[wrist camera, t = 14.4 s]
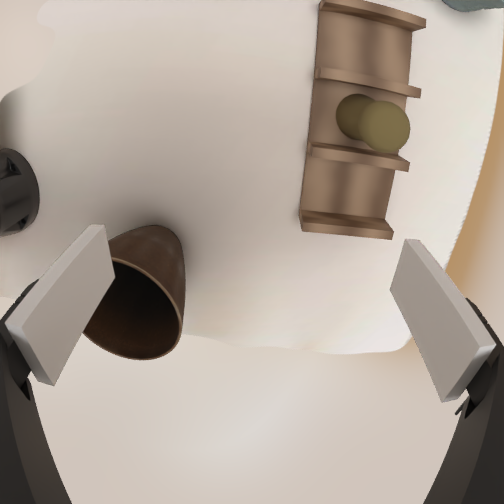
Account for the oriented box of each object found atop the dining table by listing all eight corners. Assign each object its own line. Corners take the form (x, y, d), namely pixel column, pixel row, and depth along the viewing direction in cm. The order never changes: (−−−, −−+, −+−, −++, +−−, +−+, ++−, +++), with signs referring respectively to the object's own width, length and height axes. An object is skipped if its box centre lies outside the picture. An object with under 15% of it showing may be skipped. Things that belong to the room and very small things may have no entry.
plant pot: (116, 190, 42) (55, 242, 28) (215, 212, 43) (189, 279, 29) (114, 273, 49) (70, 339, 35) (198, 296, 50) (175, 373, 36)
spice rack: (298, 215, 43) (301, 231, 38) (319, 3, 28) (326, -7, 24) (380, 223, 42) (391, 239, 38) (409, 24, 28) (426, 19, 24)
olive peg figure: (336, 140, 36) (360, 161, 27) (333, 93, 33) (358, 96, 24) (382, 140, 36) (418, 161, 26) (380, 94, 33) (419, 99, 23)
